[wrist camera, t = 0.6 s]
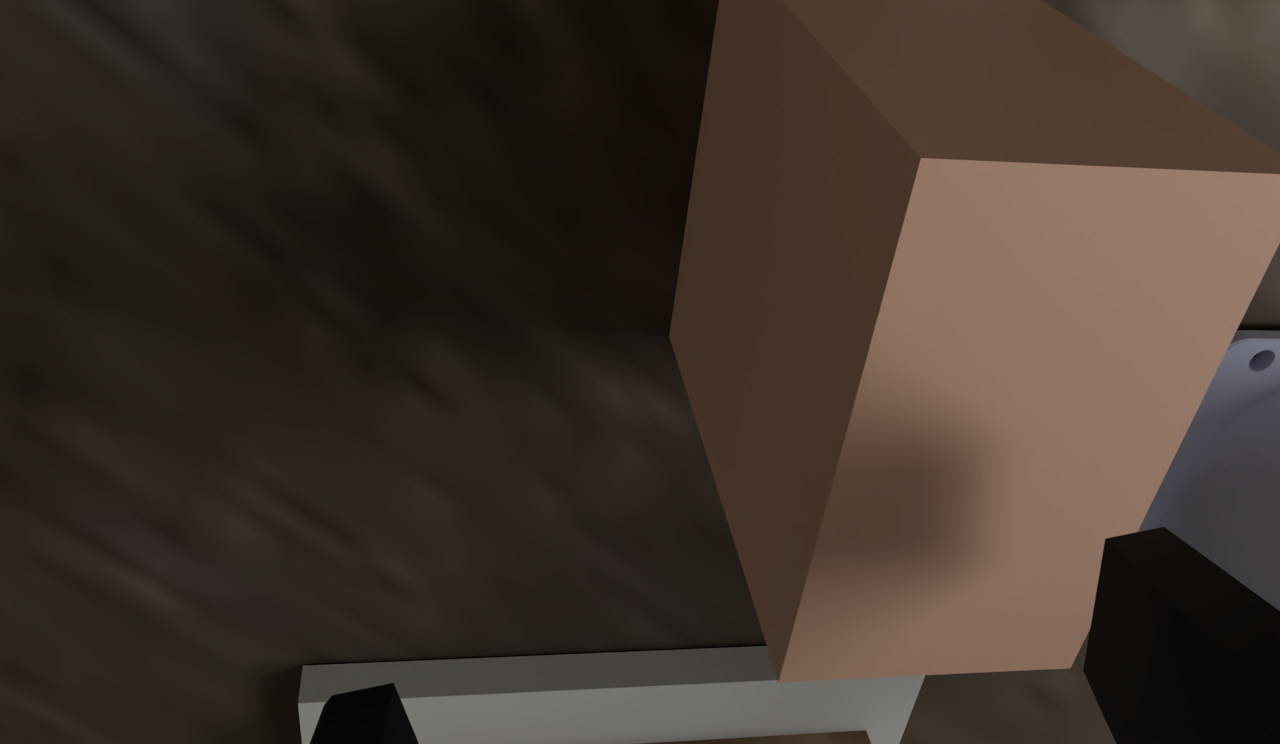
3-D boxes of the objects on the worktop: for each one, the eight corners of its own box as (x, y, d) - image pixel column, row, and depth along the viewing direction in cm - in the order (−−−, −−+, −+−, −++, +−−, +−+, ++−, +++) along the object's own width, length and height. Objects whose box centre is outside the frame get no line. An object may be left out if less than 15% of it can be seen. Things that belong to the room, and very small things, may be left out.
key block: (977, -41, 17) (1312, 176, 10) (873, 338, 21) (1069, 667, 14) (727, -62, 16) (920, 157, 10) (668, 335, 20) (778, 682, 14)
